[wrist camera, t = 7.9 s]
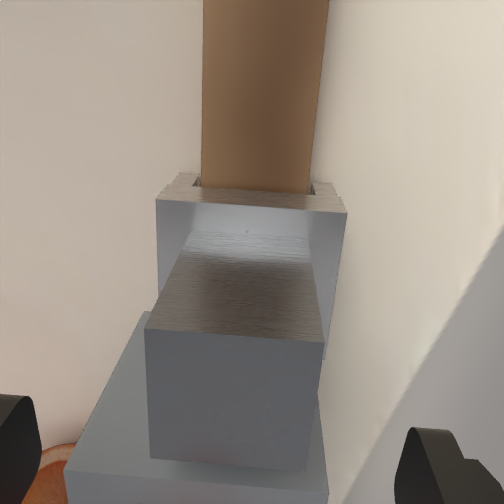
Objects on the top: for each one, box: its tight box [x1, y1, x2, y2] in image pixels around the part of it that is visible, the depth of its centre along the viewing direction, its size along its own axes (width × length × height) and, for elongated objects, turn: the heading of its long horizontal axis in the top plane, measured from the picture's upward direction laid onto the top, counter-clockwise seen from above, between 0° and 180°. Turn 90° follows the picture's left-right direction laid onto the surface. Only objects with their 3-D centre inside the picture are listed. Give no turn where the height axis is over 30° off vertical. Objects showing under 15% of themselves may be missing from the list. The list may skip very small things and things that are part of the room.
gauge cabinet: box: [63, 311, 329, 504], centre depth 19 cm, size 8×6×9 cm
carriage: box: [144, 173, 347, 472], centre depth 15 cm, size 6×6×10 cm
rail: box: [201, 0, 329, 194], centre depth 17 cm, size 4×19×2 cm, turn 177°
